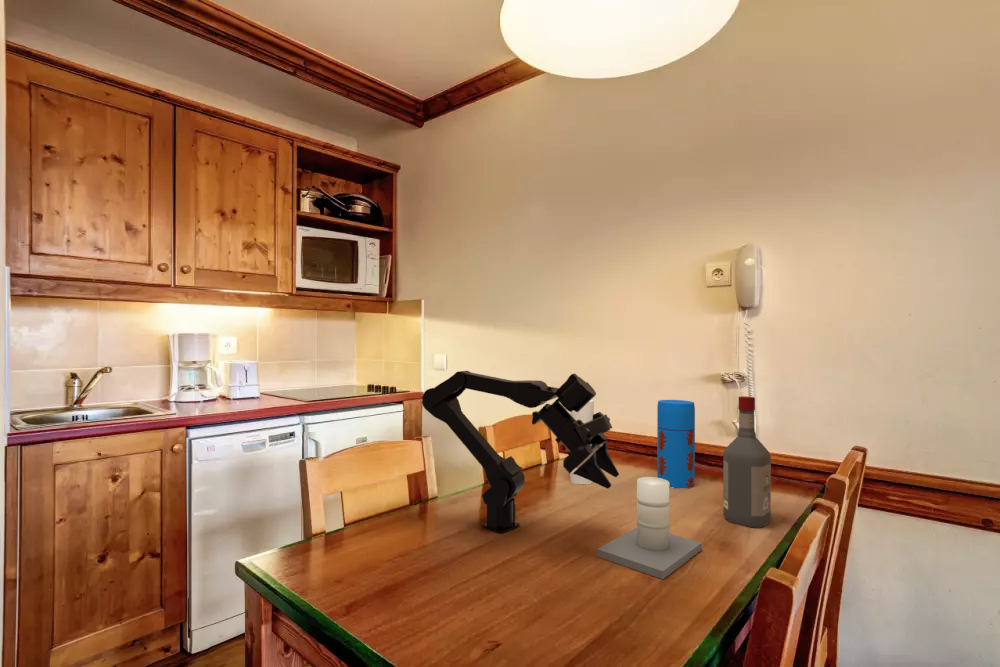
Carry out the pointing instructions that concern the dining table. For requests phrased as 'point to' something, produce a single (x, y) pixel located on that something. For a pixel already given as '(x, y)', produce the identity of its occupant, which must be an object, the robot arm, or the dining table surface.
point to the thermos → (676, 442)
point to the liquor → (747, 473)
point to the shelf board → (649, 554)
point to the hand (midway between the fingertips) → (613, 481)
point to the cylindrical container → (584, 416)
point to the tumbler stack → (653, 513)
